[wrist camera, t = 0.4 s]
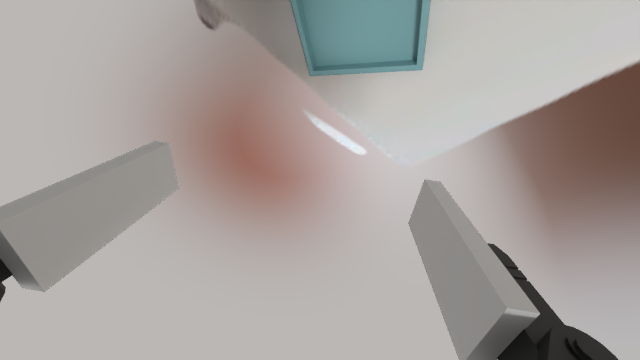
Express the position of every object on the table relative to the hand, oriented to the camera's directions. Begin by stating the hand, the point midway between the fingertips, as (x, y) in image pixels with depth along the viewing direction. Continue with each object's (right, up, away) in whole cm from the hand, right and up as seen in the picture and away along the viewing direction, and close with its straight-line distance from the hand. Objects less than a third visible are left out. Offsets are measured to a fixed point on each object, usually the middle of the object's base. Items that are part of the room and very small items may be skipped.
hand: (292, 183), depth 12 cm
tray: (+7, +25, +19) cm, 32 cm away
